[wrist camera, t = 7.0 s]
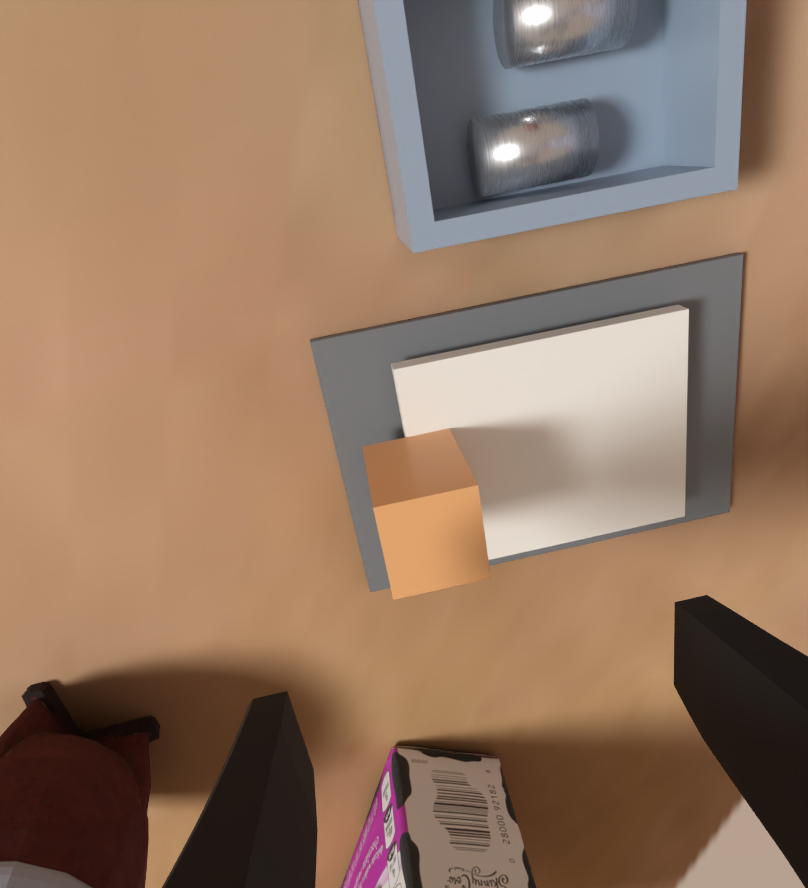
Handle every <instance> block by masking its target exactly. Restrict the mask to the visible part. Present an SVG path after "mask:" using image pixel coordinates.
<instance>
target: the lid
mask: <svg viewBox="0 0 808 888" xmlns="http://www.w3.org/2000/svg"><path fill="white" fill-rule="evenodd" d="M688 331H689V309H688V308H685V307H683V306H681V305H673V306H668V307H663V308H659V309H654V310H649V311H644V312H639V313H634V314H629V315H624V316H620V317H615V318H610V319H605V320H600V321H595V322H590V323H586V324H581V325H576V326H571V327H566V328H561V329H556V330H551V331H547V332H542V333H537V334H532V335H527V336H522V337H517V338H513V339H508V340H503V341H498V342H493V343H488V344H483V345H478V346H474V347H469V348H464V349H459V350H454V351H449V352H444V353H440V354H435V355H430V356H425V357H420V358H415V359H410V360H405V361H401V362H396V363H391V367H392V372H393V378H394V383H395V388H396V394H397V399H398V404H399V410H400V415H401V421H402V426H403V431H404V437H405V438H401V439H396V440H391V441H387V442H382V443H377V444H372V445H368V446H363V447H362V449H363V454H364V460H365V465H366V471H367V477H368V482H369V488H370V494H371V499H372V505H373V510H374V514H375V519H376V524H377V528H378V533H379V537H380V542H381V546H382V551H383V555H384V560H385V564H386V569H387V573H388V578H389V582H390V587H391V591H392V596H393V600H395V599H399V598H404V597H408V596H412V595H417V594H421V593H426V592H430V591H435V590H439V589H444V588H448V587H453V586H457V585H462V584H466V583H471V582H475V581H479V580H484V579H488V578H491V575H490V568H489V560H491V559H495V558H500V557H504V556H509V555H513V554H518V553H522V552H527V551H531V550H536V549H540V548H545V547H549V546H554V545H558V544H563V543H567V542H572V541H576V540H581V539H585V538H590V537H594V536H599V535H603V534H608V533H612V532H617V531H621V530H626V529H630V528H635V527H639V526H644V525H648V524H653V523H657V522H662V521H666V520H671V519H675V518H680V517H684V516H685V485H686V434H687V382H688Z"/></svg>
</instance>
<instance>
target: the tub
mask: <svg viewBox="0 0 808 888" xmlns="http://www.w3.org/2000/svg"><path fill="white" fill-rule="evenodd" d="M746 2H747V0H638V5H637V15H636V20H635V25H634V29H633V32H632V34H631V37H630V39H629V41H628V42H627V44H626V45H625V46H624V47H622V48H619V49H613V50H608V51H603V52H597V53H592V54H586V55H581V56H575V57H570V58H565V59H559V60H554V61H548V62H543V63H538V64H532V65H527V66H521V67H516V68H511V69H505V68H504V67H503V66H502V65H501V63H500V60H499V57H498V54H497V50H496V45H495V38H494V28H493V0H358V4H359V10H360V15H361V21H362V27H363V33H364V39H365V45H366V51H367V57H368V63H369V69H370V75H371V81H372V87H373V93H374V99H375V105H376V111H377V117H378V123H379V129H380V135H381V141H382V147H383V153H384V159H385V165H386V170H387V176H388V182H389V188H390V194H391V200H392V206H393V212H394V218H395V224H396V230H397V236H398V239H399V240H400V241H401V242H402V243H403V244H404V245H405V246H407V247H408V248H409V249H410V250H411V251H412V252H413V253H417V252H422V251H427V250H432V249H437V248H442V247H447V246H452V245H457V244H462V243H467V242H472V241H478V240H483V239H488V238H493V237H498V236H503V235H508V234H513V233H518V232H523V231H528V230H533V229H538V228H543V227H548V226H553V225H558V224H563V223H569V222H574V221H579V220H584V219H589V218H594V217H599V216H604V215H609V214H614V213H619V212H624V211H629V210H634V209H639V208H644V207H649V206H655V205H660V204H665V203H670V202H675V201H680V200H685V199H690V198H695V197H700V196H705V195H710V194H715V193H720V192H725V191H730V190H735V189H738V170H739V149H740V128H741V107H742V86H743V65H744V44H745V23H746ZM581 98H586V99H588V100H589V101H590V103H591V104H592V106H593V108H594V111H595V114H596V118H597V122H598V129H599V153H598V160H597V164H596V167H595V169H594V171H593V173H592V174H591V175H590V176H587V177H582V178H577V179H572V180H567V181H562V182H557V183H551V184H546V185H541V186H536V187H531V188H526V189H521V190H515V191H510V192H505V193H500V194H495V195H490V196H485V197H479V196H478V195H477V193H476V191H475V189H474V186H473V183H472V179H471V175H470V170H469V164H468V155H467V128H468V123H469V121H470V120H471V119H474V118H480V117H485V116H490V115H496V114H501V113H506V112H512V111H517V110H522V109H527V108H533V107H538V106H543V105H549V104H554V103H559V102H565V101H570V100H575V99H581Z"/></svg>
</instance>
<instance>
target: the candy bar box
mask: <svg viewBox="0 0 808 888" xmlns="http://www.w3.org/2000/svg"><path fill="white" fill-rule="evenodd" d="M341 888H536V885H535V882H534V879H533V876H532V872H531V868H530V865H529V862H528V858H527V855H526V851H525V848H524V844H523V840H522V836H521V833H520V829H519V827H518V824H517V821H516V817H515V813H514V810H513V806H512V803H511V799H510V796H509V793H508V790H507V786H506V783H505V779H504V776H503V773H502V769H501V765H500V760H499V758H497V757H495V756H489V755H482V754H472V753H460V752H452V751H444V750H439V749H429V748H422V747H410V746H394V747H393V748H392V749H391V751H390V754H389V756H388V759H387V762H386V765H385V767H384V771H383V774H382V777H381V779H380V782H379V784H378V787H377V790H376V792H375V796H374V799H373V802H372V805H371V807H370V810H369V813H368V816H367V819H366V822H365V824H364V827H363V829H362V832H361V835H360V837H359V840H358V843H357V846H356V848H355V851H354V854H353V857H352V859H351V863H350V865H349V868H348V870H347V873H346V876H345V878H344V881H343V884H342V887H341Z"/></svg>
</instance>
